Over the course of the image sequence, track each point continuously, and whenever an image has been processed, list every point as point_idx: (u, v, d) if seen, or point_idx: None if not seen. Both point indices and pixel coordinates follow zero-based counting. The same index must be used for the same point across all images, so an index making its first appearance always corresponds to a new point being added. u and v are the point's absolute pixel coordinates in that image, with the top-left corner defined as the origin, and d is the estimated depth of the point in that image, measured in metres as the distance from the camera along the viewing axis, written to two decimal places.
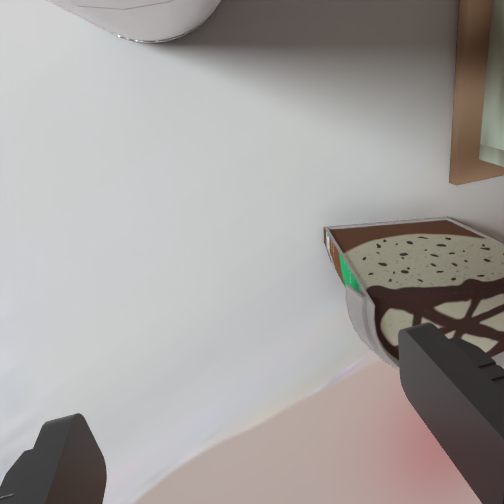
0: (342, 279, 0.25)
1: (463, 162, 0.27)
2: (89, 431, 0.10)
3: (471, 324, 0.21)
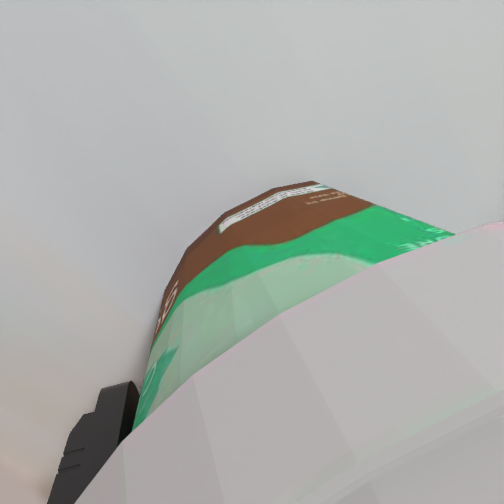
0: (277, 235, 0.08)
1: None
2: None
3: None
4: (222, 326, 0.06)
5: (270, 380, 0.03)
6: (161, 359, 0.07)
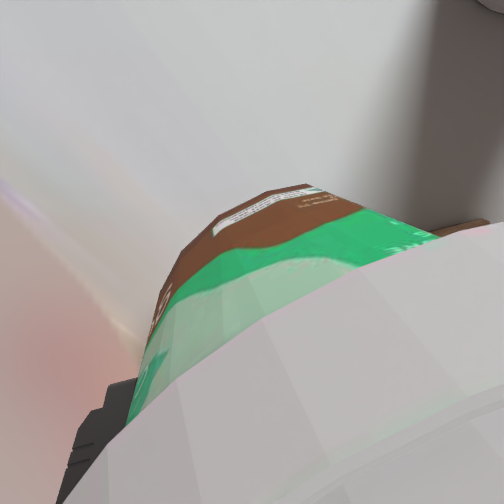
0: (268, 238, 0.08)
1: None
2: None
3: None
4: (211, 329, 0.06)
5: (250, 384, 0.03)
6: (152, 362, 0.07)
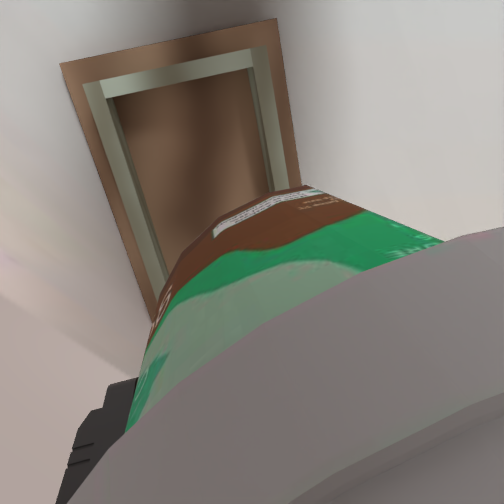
0: (269, 241, 0.08)
1: (85, 65, 0.25)
2: None
3: None
4: (212, 332, 0.06)
5: (252, 390, 0.03)
6: (153, 364, 0.07)
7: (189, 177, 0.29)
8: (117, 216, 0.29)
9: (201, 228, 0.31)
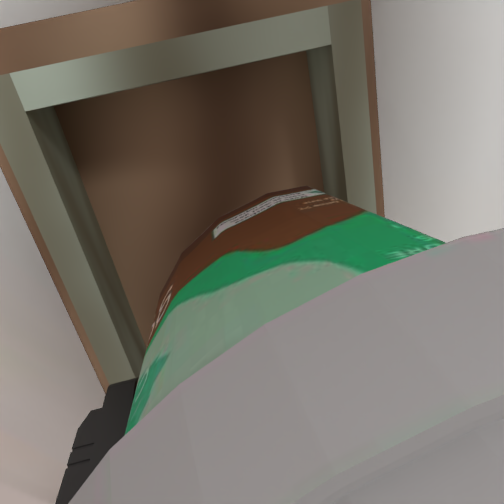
0: (269, 241, 0.08)
1: None
2: None
3: None
4: (212, 333, 0.06)
5: (253, 391, 0.03)
6: (153, 365, 0.07)
7: None
8: (73, 312, 0.17)
9: None
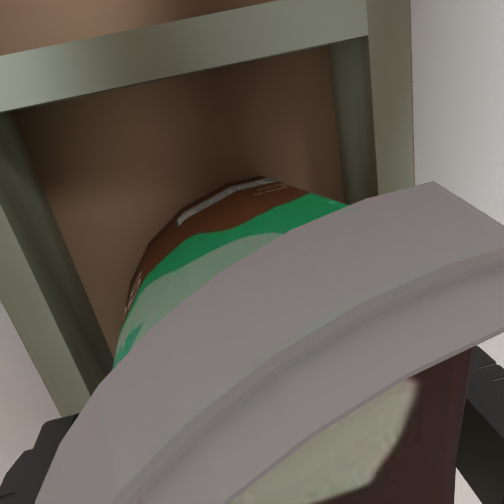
0: (227, 223, 0.09)
1: None
2: None
3: None
4: (180, 299, 0.07)
5: (211, 318, 0.04)
6: (129, 336, 0.08)
7: None
8: None
9: None
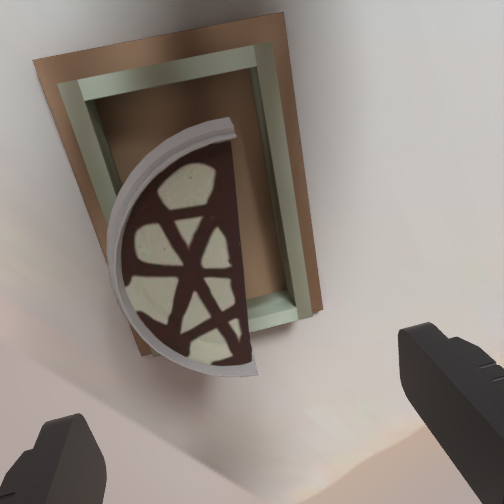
0: None
1: (63, 62, 0.22)
2: (89, 431, 0.10)
3: (192, 281, 0.18)
4: None
5: (160, 148, 0.16)
6: None
7: None
8: (100, 234, 0.26)
9: None
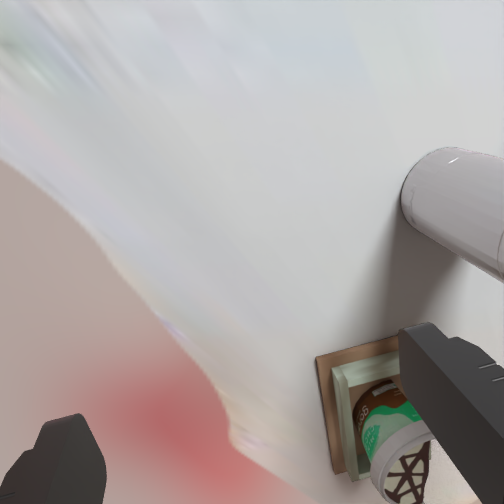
0: (391, 405, 0.46)
1: (330, 360, 0.48)
2: (89, 431, 0.10)
3: (406, 477, 0.44)
4: (389, 424, 0.45)
5: (402, 434, 0.42)
6: (375, 426, 0.46)
7: None
8: (329, 423, 0.52)
9: None
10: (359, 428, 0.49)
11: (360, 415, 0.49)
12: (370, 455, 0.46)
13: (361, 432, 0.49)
